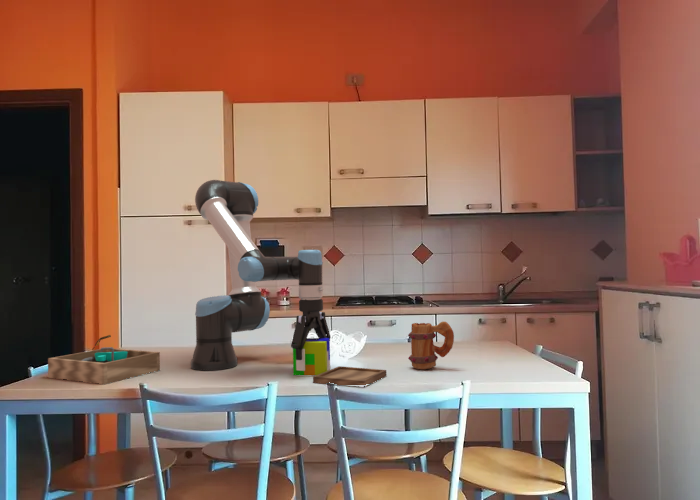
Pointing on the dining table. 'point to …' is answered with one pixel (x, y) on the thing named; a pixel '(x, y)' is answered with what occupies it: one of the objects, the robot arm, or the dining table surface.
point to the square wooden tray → (349, 376)
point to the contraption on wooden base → (106, 354)
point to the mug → (429, 344)
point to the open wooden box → (103, 366)
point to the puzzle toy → (314, 356)
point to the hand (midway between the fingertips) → (312, 366)
